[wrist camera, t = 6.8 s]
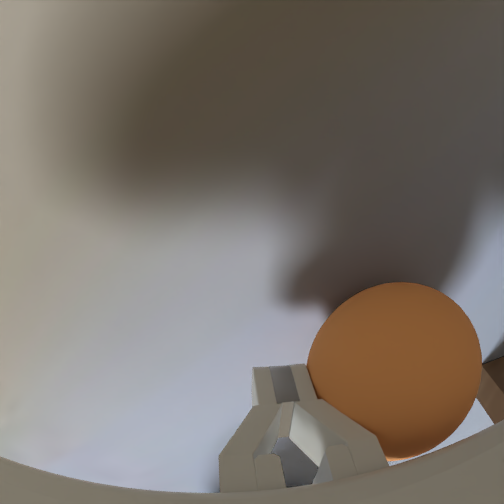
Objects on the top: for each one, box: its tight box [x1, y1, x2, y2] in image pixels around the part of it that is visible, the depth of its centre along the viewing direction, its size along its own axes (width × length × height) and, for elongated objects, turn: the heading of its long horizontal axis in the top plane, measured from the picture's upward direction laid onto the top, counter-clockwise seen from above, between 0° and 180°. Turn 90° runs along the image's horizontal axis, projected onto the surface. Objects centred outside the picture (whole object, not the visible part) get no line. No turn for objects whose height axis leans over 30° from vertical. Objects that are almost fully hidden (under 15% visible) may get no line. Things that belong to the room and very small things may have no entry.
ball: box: [306, 282, 482, 461], centre depth 9 cm, size 6×6×6 cm
